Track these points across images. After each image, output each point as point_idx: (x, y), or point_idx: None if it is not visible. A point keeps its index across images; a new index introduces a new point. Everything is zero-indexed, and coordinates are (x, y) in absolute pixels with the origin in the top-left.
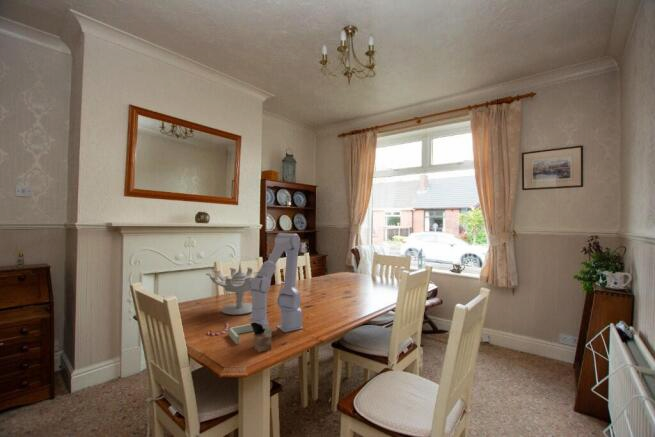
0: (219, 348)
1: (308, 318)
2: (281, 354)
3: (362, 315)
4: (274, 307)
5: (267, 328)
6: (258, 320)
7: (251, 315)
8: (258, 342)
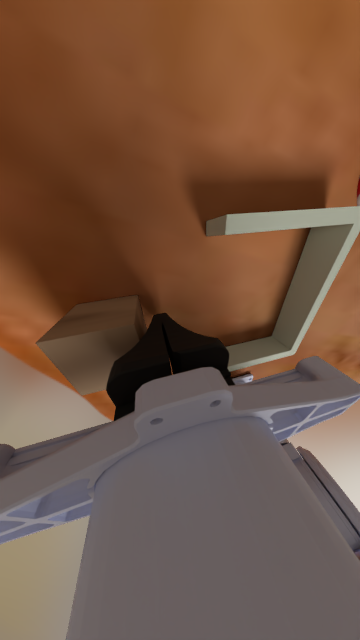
0: (208, 61)
1: None
2: (41, 372)
3: None
4: (344, 372)
5: (231, 366)
6: (98, 483)
7: (324, 400)
8: (61, 326)
